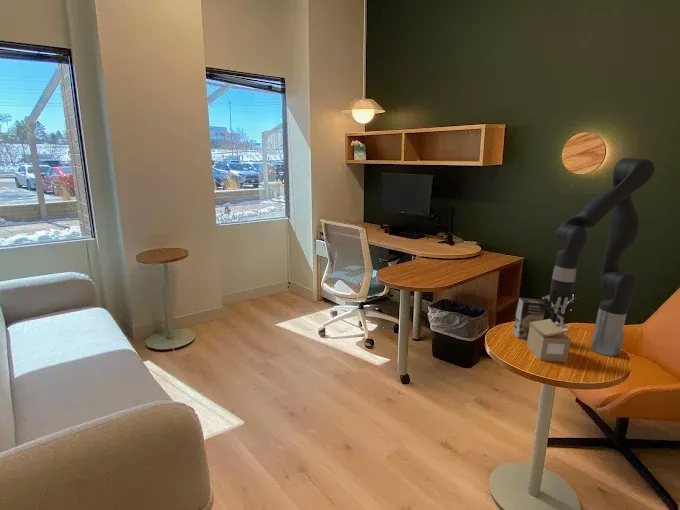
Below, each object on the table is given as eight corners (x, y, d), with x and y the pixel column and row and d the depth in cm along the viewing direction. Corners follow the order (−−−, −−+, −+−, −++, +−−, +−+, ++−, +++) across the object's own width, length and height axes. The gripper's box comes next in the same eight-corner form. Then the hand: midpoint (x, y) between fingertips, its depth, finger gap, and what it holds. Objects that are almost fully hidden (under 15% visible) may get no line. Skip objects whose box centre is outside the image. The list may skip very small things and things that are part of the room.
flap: (553, 320, 164) (552, 307, 163) (569, 332, 152) (567, 319, 151) (529, 324, 165) (527, 312, 163) (543, 337, 153) (541, 324, 152)
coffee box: (517, 338, 174) (523, 302, 170) (512, 332, 180) (518, 297, 176) (539, 340, 173) (546, 304, 169) (534, 334, 179) (540, 299, 175)
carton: (551, 347, 167) (555, 326, 165) (566, 362, 155) (571, 339, 153) (526, 346, 167) (530, 325, 165) (539, 360, 155) (544, 338, 153)
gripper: (576, 276, 157) (568, 319, 161) (540, 274, 157) (533, 317, 161) (587, 282, 150) (579, 326, 154) (549, 280, 150) (542, 325, 154)
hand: (555, 321), depth 158 cm, fingers closed
